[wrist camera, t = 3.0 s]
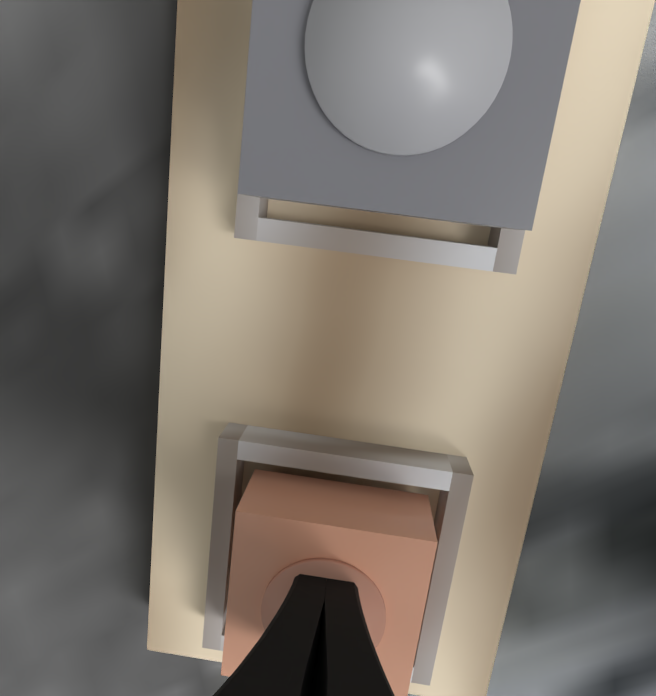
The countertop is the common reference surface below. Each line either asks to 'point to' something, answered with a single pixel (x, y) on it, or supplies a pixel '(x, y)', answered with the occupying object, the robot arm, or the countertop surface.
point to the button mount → (368, 346)
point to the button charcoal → (405, 105)
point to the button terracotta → (331, 560)
